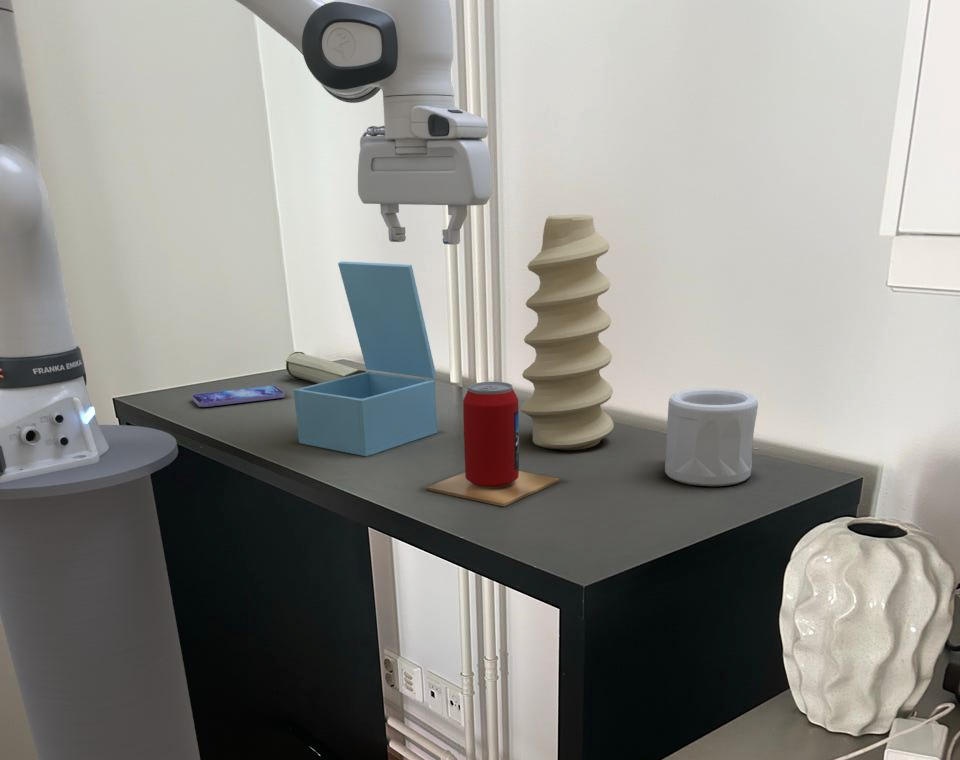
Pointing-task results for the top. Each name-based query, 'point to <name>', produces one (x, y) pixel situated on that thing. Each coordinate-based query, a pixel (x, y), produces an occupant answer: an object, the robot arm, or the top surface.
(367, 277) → the lid
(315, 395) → the box
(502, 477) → the beverage can
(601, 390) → the decorative object
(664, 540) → the top surface
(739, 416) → the mug
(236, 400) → the smartphone
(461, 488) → the cork mat
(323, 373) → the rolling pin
